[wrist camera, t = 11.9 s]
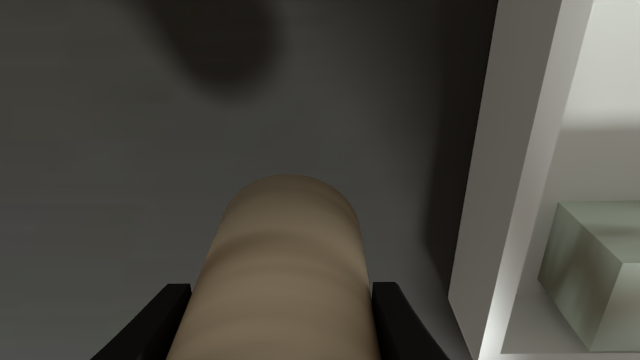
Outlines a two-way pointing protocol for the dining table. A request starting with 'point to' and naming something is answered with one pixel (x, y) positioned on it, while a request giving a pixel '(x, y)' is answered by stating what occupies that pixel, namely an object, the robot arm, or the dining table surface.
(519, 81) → the box
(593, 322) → the sage cube
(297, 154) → the dining table surface
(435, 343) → the robot arm
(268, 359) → the wooden cylinder
